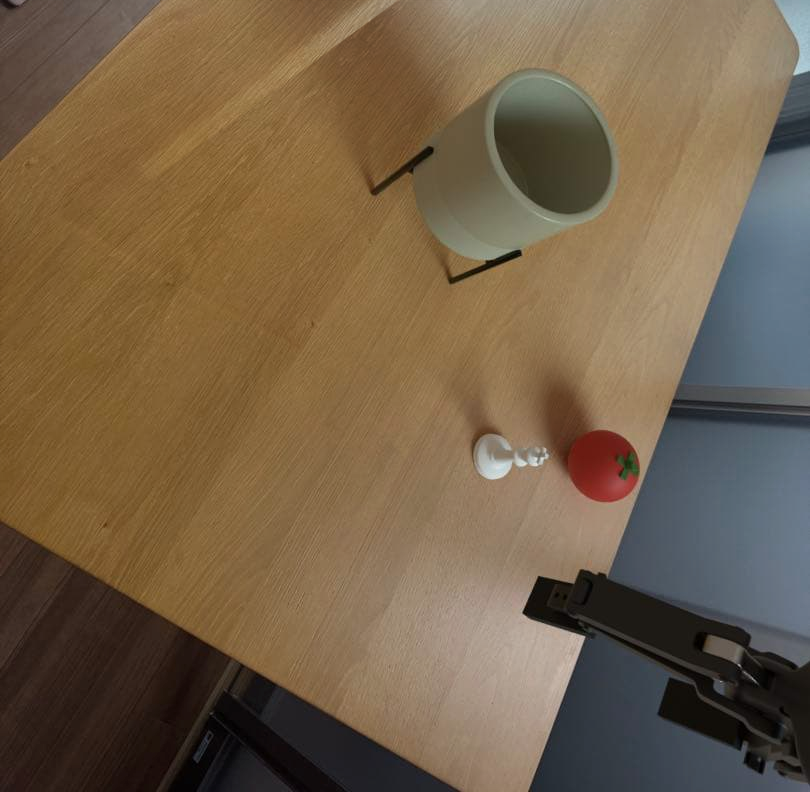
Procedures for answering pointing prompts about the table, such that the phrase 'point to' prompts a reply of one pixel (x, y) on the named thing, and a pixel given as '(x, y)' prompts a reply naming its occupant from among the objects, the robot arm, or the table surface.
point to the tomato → (603, 466)
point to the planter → (514, 168)
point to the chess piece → (503, 456)
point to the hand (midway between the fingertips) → (601, 648)
